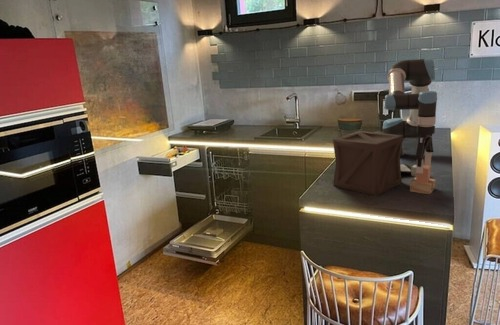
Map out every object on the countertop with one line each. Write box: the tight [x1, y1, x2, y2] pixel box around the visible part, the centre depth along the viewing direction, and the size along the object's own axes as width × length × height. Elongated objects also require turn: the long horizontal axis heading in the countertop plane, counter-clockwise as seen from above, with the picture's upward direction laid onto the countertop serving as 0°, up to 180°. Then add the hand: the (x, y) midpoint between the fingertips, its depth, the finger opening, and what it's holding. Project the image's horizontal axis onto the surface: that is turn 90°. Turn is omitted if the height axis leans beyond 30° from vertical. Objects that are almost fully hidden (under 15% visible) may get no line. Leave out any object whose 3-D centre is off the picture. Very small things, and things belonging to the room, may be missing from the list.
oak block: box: [409, 176, 436, 195], centre depth 184 cm, size 9×9×5 cm
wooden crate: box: [332, 130, 404, 197], centre depth 195 cm, size 25×25×25 cm
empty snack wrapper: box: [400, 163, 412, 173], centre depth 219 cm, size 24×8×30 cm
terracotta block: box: [415, 164, 432, 183], centre depth 183 cm, size 5×5×7 cm
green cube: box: [410, 164, 417, 177], centre depth 206 cm, size 5×5×5 cm
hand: (423, 169), depth 182 cm, fingers open, 13 cm apart
